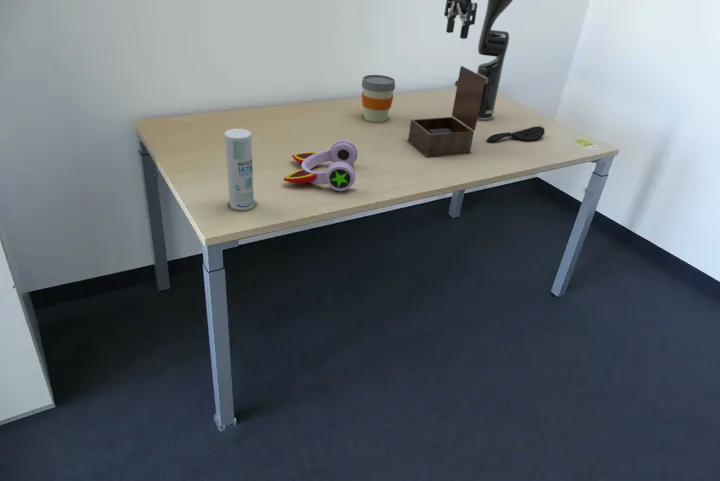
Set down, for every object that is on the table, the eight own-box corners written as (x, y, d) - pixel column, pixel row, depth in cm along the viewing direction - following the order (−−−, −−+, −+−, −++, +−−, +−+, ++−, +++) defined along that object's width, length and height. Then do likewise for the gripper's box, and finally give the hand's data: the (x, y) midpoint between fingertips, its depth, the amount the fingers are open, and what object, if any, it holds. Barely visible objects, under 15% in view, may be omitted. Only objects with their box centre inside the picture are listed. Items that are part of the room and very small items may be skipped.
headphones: (357, 168, 146) (285, 154, 145) (351, 199, 151) (281, 185, 150) (360, 141, 163) (295, 128, 161) (353, 170, 168) (291, 157, 166)
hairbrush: (482, 130, 193) (536, 121, 202) (480, 139, 196) (534, 130, 204) (495, 138, 187) (550, 129, 196) (494, 148, 189) (548, 138, 198)
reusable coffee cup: (374, 126, 197) (378, 86, 189) (352, 116, 205) (355, 77, 197) (398, 120, 205) (402, 81, 197) (376, 110, 212) (379, 73, 204)
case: (427, 157, 176) (430, 135, 172) (408, 140, 187) (410, 119, 183) (469, 153, 182) (474, 131, 178) (448, 137, 193) (452, 116, 189)
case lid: (483, 78, 168) (497, 77, 170) (460, 66, 179) (473, 65, 181) (473, 130, 177) (486, 129, 179) (451, 115, 189) (464, 114, 190)
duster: (431, 148, 181) (434, 134, 178) (425, 143, 184) (427, 129, 182) (452, 146, 184) (454, 132, 181) (445, 141, 187) (448, 128, 184)
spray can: (239, 213, 136) (235, 140, 126) (224, 204, 140) (218, 132, 129) (259, 205, 141) (256, 134, 130) (244, 196, 144) (240, 126, 134)
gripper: (489, -19, 152) (478, 40, 160) (464, -25, 163) (455, 30, 171) (467, -20, 149) (457, 40, 158) (442, -26, 160) (434, 30, 169)
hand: (456, 35), depth 165 cm, fingers open, 8 cm apart
